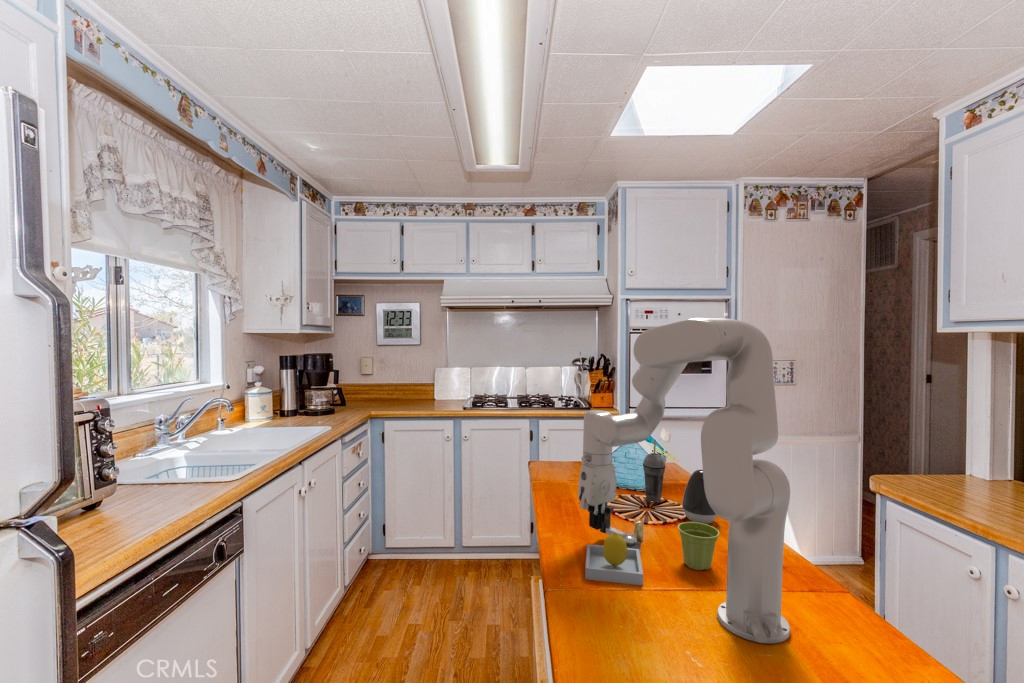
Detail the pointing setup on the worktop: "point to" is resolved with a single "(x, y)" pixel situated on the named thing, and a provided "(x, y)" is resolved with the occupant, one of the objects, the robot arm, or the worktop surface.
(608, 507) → the crank handle
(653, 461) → the beverage cup
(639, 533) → the crank base
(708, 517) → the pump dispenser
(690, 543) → the plant pot
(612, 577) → the tray
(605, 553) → the lemon
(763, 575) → the robot arm
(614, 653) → the worktop surface
